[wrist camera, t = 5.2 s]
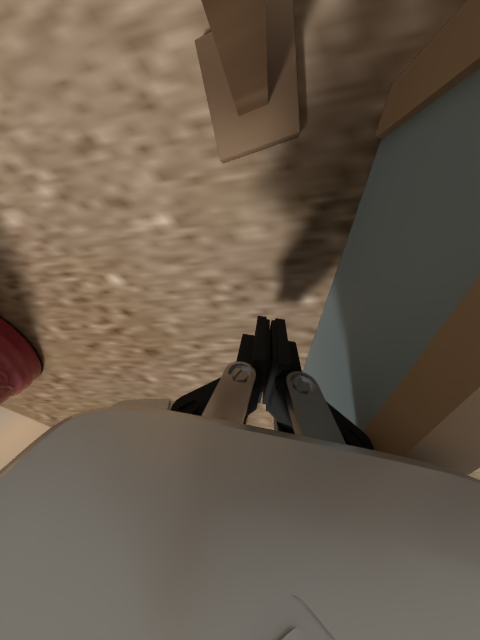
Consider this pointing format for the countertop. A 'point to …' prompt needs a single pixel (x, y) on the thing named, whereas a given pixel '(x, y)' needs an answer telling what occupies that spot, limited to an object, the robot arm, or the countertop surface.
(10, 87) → the countertop surface
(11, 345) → the canister
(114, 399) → the countertop surface
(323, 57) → the countertop surface
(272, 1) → the gate frame
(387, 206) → the panel
